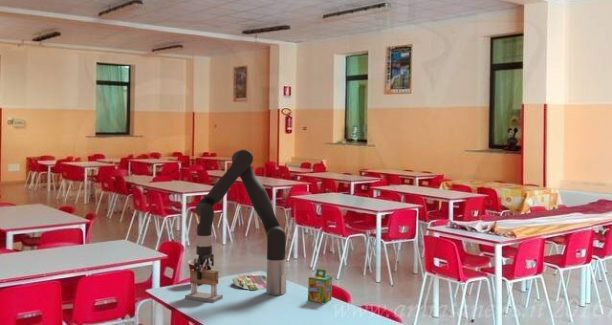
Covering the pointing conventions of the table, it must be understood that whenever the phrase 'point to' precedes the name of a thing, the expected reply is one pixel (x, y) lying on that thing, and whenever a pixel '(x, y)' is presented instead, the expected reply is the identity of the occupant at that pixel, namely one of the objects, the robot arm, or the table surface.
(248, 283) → the city model
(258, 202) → the robot arm
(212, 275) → the brown wooden block
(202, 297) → the peg rack
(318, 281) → the green yellow handled box
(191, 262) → the plastic cup
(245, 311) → the table surface
